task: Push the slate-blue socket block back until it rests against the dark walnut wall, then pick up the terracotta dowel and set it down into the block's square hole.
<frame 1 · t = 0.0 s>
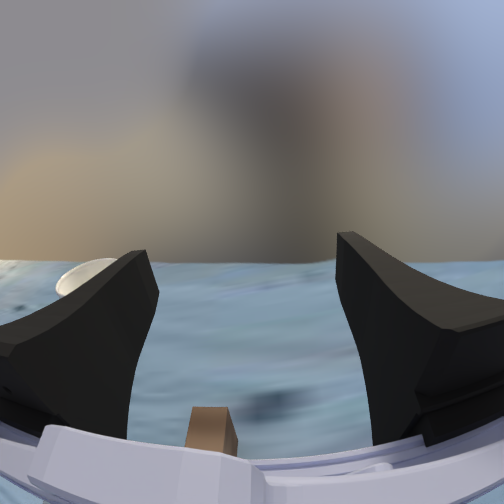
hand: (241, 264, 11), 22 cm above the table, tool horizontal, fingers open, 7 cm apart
candle holder: (118, 348, 39), on the table
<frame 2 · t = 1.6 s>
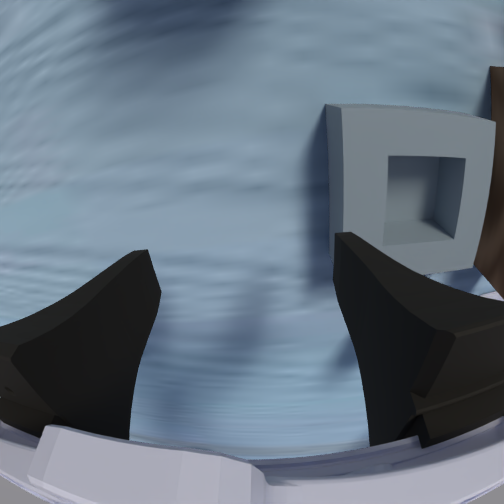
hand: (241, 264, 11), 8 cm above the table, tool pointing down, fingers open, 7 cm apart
socket block: (398, 179, 18), on the table
walnut wall: (499, 170, 16), on the table
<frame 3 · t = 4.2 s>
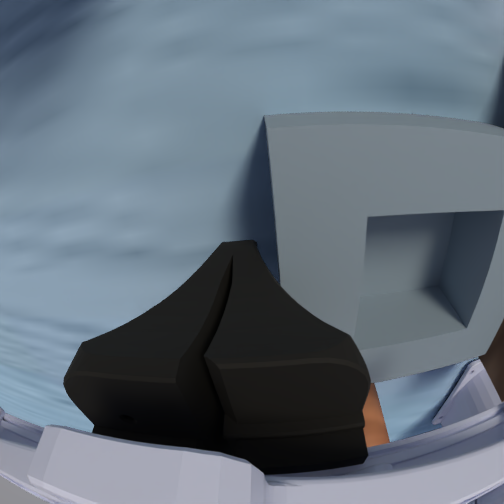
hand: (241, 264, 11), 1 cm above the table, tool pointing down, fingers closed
socket block: (390, 230, 12), on the table, touching gripper
dowel: (346, 379, 17), on the table
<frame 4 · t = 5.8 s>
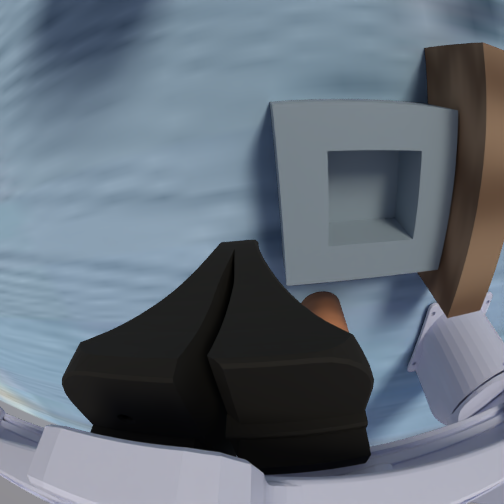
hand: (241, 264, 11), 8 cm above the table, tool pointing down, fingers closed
socket block: (354, 176, 18), on the table
walnut wall: (443, 165, 17), on the table
dowel: (319, 307, 23), on the table
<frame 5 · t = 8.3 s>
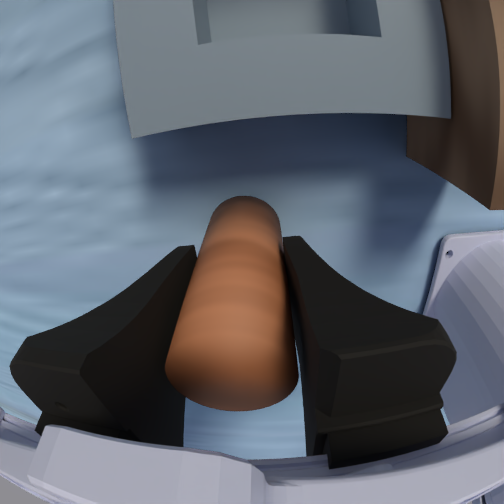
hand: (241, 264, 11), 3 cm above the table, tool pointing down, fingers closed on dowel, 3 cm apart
dowel: (244, 229, 14), on the table, touching gripper
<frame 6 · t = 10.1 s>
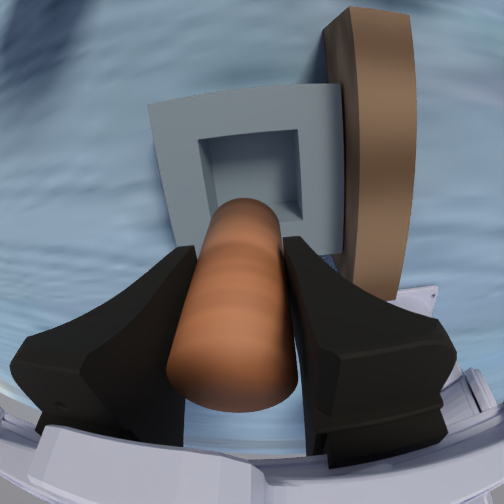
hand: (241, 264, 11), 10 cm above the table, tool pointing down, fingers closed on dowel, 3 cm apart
socket block: (253, 163, 19), on the table
walnut wall: (353, 147, 18), on the table
dowel: (244, 231, 14), point 7 cm above the table, touching gripper
when the fingers open (5 cm above the table, at t = 11.8 s): dowel drops 1 cm, resting on socket block.
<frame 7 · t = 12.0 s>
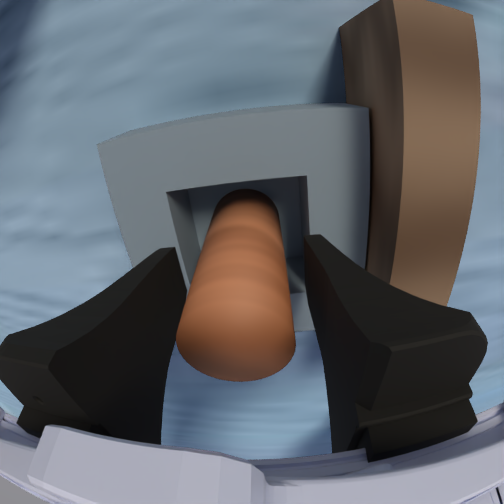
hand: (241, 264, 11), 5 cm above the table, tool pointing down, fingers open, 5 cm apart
socket block: (247, 207, 15), on the table, touching dowel
walnut wall: (376, 186, 14), on the table
dowel: (246, 219, 15), point 1 cm above the table, touching socket block
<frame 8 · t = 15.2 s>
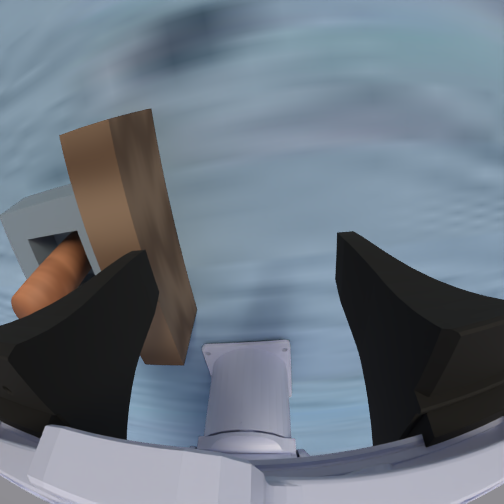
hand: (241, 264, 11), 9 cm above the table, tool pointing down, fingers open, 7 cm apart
socket block: (87, 240, 22), on the table, touching dowel
walnut wall: (154, 224, 21), on the table
dowel: (82, 248, 21), point 1 cm above the table, touching socket block
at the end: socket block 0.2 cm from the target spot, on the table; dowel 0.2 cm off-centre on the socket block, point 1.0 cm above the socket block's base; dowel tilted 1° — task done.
